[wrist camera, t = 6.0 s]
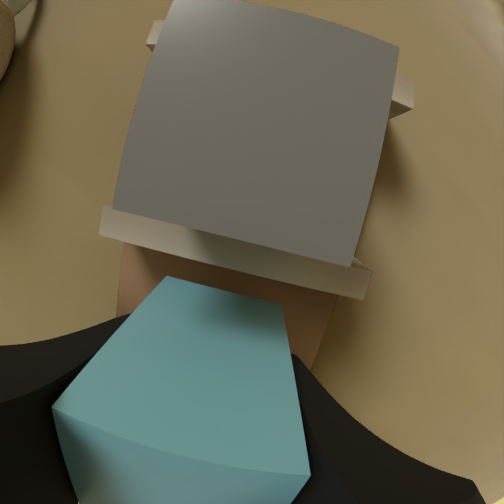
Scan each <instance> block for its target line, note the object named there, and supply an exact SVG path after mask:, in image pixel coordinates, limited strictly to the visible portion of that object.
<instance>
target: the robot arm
mask: <svg viewBox="0 0 504 504" xmlns="http://www.w3.org/2000/svg"><path fill="white" fill-rule="evenodd" d="M130 315H131V313H129V314H126V315H123V316H120V317H117V318H114V319H112V320H109V321H106V322H104V323H101V324H98V325H95V326H93V327H90V328H87V329H84V330H81V331H77V332H74V333H71V334H68V335H64V336H61V337H57V338H53V339H49V340H44V341H39V342H33V343H27V344H18V345H5V346H0V504H78V502H79V501H78V499H77V496H76V493H75V491H74V488H73V485H72V482H71V479H70V476H69V473H68V470H67V467H66V463H65V460H64V457H63V453H62V450H61V446H60V442H59V438H58V434H57V430H56V426H55V421H54V417H53V412H52V406H53V404H54V403H55V402H56V401H57V400H58V398H59V397H60V396H61V395H62V393H63V392H64V391H65V390H66V389H67V387H68V386H69V385H70V384H71V383H72V381H73V380H74V379H75V378H76V377H77V376H78V374H79V373H80V372H81V371H82V370H83V368H84V367H85V366H86V365H87V364H88V363H89V361H90V360H91V359H92V358H93V357H94V356H95V355H96V353H97V352H98V351H99V350H100V349H101V348H102V346H103V345H104V344H105V343H106V342H107V341H108V340H109V338H110V337H111V336H112V335H113V334H114V333H115V332H116V331H117V329H118V328H119V327H120V326H121V325H122V324H123V323H124V322H125V321H126V319H127V318H128V317H129V316H130ZM291 359H292V365H293V371H294V376H295V382H296V388H297V394H298V400H299V405H300V411H301V417H302V423H303V430H304V436H305V442H306V448H307V454H308V461H309V467H310V473H311V476H310V477H309V479H308V480H307V482H306V483H305V485H304V486H303V487H302V489H301V490H300V492H299V493H298V494H297V496H296V497H295V498H294V500H293V501H292V502H291V504H486V503H485V501H484V499H483V498H482V496H481V494H480V492H479V490H478V489H477V487H476V485H475V483H474V482H473V481H472V480H470V479H466V478H463V477H460V476H456V475H453V474H450V473H447V472H444V471H441V470H438V469H436V468H434V467H431V466H429V465H427V464H425V463H422V462H420V461H418V460H416V459H414V458H412V457H410V456H408V455H406V454H404V453H403V452H401V451H399V450H398V449H396V448H394V447H393V446H391V445H390V444H388V443H386V442H385V441H383V440H382V439H380V438H379V437H377V436H376V435H375V434H373V433H372V432H371V431H369V430H368V429H367V428H365V427H364V426H363V425H362V424H360V423H359V422H358V421H357V420H356V419H354V418H353V417H352V416H351V415H350V414H349V413H348V412H347V411H346V410H345V409H344V408H343V407H342V406H341V405H340V404H339V403H338V402H337V401H336V400H335V399H334V398H333V397H332V396H331V395H330V394H329V393H328V392H327V391H326V390H325V388H324V387H323V386H322V385H321V384H320V383H319V382H318V380H317V379H316V378H315V377H314V376H313V374H312V373H311V372H310V371H309V369H308V368H307V367H306V366H305V365H304V363H303V362H302V361H301V360H300V359H299V357H298V356H297V355H296V354H291Z"/></svg>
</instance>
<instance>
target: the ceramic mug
mask: <svg viewBox="0 0 504 504" xmlns="http://www.w3.org/2000/svg"><path fill="white" fill-rule="evenodd" d="M30 1H31V0H6V1H5V2H2V1H1V0H0V81H1V79H2V77H3V75H4V74H5V72H6V69H7V67H8V65H9V62H10V59H11V55H12V52H13V48H14V43H15V33H16V31H15V22H14V17H15V16H16V15H17V14H18V13H20V12H21V11H22V10H23V9H24V8H25V7H26V6H27V5H28V4H29V2H30Z"/></svg>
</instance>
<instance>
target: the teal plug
mask: <svg viewBox="0 0 504 504" xmlns="http://www.w3.org/2000/svg"><path fill="white" fill-rule="evenodd" d="M52 412H53V417H54V421H55V426H56V430H57V434H58V438H59V442H60V446H61V450H62V453H63V457H64V460H65V463H66V467H67V470H68V473H69V476H70V479H71V482H72V485H73V488H74V491H75V493H76V496H77V499H78V501H79V504H291V502H292V501H293V500H294V498H295V497H296V496H297V494H298V493H299V492H300V490H301V489H302V487H303V486H304V485H305V483H306V482H307V480H308V479H309V477H310V476H311V473H310V467H309V461H308V454H307V448H306V442H305V436H304V430H303V423H302V417H301V411H300V405H299V400H298V394H297V388H296V382H295V376H294V371H293V365H292V359H291V354H290V348H289V342H288V337H287V331H286V326H285V320H284V315H283V309H282V304H279V303H275V302H270V301H266V300H262V299H257V298H253V297H249V296H245V295H241V294H236V293H232V292H228V291H224V290H220V289H216V288H212V287H208V286H204V285H200V284H196V283H193V282H189V281H185V280H181V279H177V278H173V277H170V276H166V277H165V278H164V279H163V280H162V281H161V282H160V283H159V285H158V286H157V287H156V288H155V289H154V290H153V291H152V292H151V293H150V294H149V295H148V296H147V297H146V299H145V300H144V301H143V302H142V303H141V304H140V305H139V306H138V307H137V308H136V309H135V311H134V312H133V313H132V314H131V315H130V316H129V317H128V318H127V319H126V321H125V322H124V323H123V324H122V325H121V326H120V327H119V328H118V329H117V331H116V332H115V333H114V334H113V335H112V336H111V337H110V338H109V340H108V341H107V342H106V343H105V344H104V345H103V346H102V348H101V349H100V350H99V351H98V352H97V353H96V355H95V356H94V357H93V358H92V359H91V360H90V361H89V363H88V364H87V365H86V366H85V367H84V368H83V370H82V371H81V372H80V373H79V374H78V376H77V377H76V378H75V379H74V380H73V381H72V383H71V384H70V385H69V386H68V387H67V389H66V390H65V391H64V392H63V393H62V395H61V396H60V397H59V398H58V400H57V401H56V402H55V403H54V404H53V406H52Z"/></svg>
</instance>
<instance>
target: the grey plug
mask: <svg viewBox="0 0 504 504" xmlns="http://www.w3.org/2000/svg"><path fill="white" fill-rule="evenodd" d="M398 53H399V47H397V46H394V45H392V44H390V43H387V42H385V41H383V40H380V39H378V38H375V37H373V36H370V35H367V34H365V33H362V32H359V31H357V30H354V29H351V28H348V27H345V26H342V25H339V24H336V23H333V22H329V21H326V20H323V19H319V18H316V17H312V16H308V15H305V14H301V13H297V12H293V11H288V10H284V9H279V8H274V7H269V6H264V5H259V4H253V3H247V2H240V1H233V0H174V1H173V3H172V5H171V8H170V10H169V12H168V15H167V17H166V20H165V22H164V24H163V27H162V29H161V32H160V34H159V37H158V40H157V42H156V45H155V48H154V50H153V53H152V56H151V59H150V61H149V64H148V67H147V70H146V73H145V76H144V79H143V82H142V86H141V89H140V92H139V95H138V99H137V102H136V105H135V109H134V112H133V116H132V120H131V123H130V127H129V131H128V135H127V139H126V143H125V147H124V152H123V156H122V160H121V165H120V170H119V175H118V180H117V185H116V190H115V195H114V201H113V207H112V209H114V210H118V211H122V212H126V213H130V214H135V215H139V216H143V217H147V218H151V219H155V220H160V221H164V222H168V223H172V224H176V225H180V226H184V227H189V228H193V229H197V230H201V231H205V232H209V233H213V234H217V235H221V236H225V237H229V238H233V239H238V240H242V241H246V242H250V243H254V244H258V245H262V246H266V247H270V248H274V249H278V250H282V251H286V252H290V253H294V254H298V255H302V256H306V257H310V258H314V259H318V260H322V261H326V262H330V263H333V264H337V265H341V266H345V267H349V268H350V266H351V263H352V260H353V256H354V253H355V250H356V246H357V243H358V240H359V236H360V233H361V229H362V226H363V222H364V219H365V215H366V212H367V208H368V204H369V200H370V196H371V193H372V189H373V185H374V181H375V176H376V172H377V168H378V164H379V159H380V155H381V150H382V146H383V141H384V136H385V131H386V126H387V121H388V116H389V111H390V105H391V100H392V94H393V88H394V81H395V75H396V68H397V61H398Z"/></svg>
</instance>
